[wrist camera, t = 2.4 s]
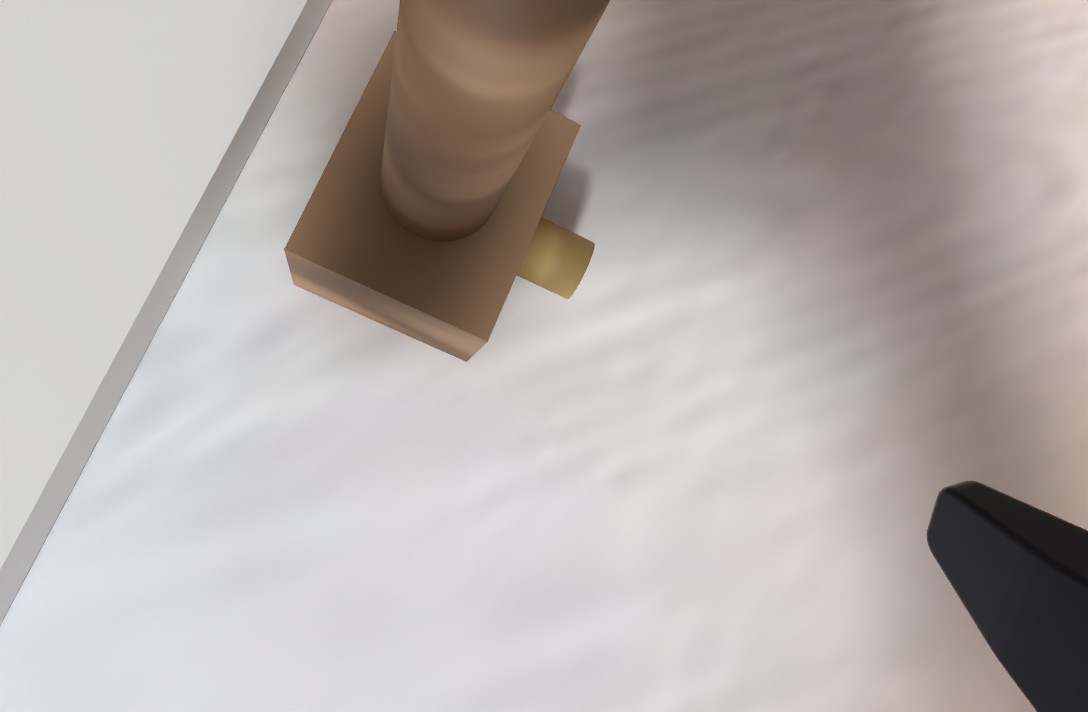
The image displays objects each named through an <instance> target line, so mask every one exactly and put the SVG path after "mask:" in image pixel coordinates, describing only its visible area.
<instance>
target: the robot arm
mask: <svg viewBox="0 0 1088 712" xmlns="http://www.w3.org/2000/svg"><path fill="white" fill-rule="evenodd" d="M927 541H928V545H929V547H930V550H931V552H932V554H933V555H934V557H935V559H936V560H937V562H938V564H939V565H940V567H941V568H942V570H943V572H944V573H945V575H946V577H947V578H948V580H949V581H950V583H951V585H952V586H953V588H954V590H955V591H956V593H957V594H958V596H959V598H960V599H961V601H962V603H963V604H964V606H965V607H966V609H967V611H968V612H969V614H970V616H971V617H972V619H973V620H974V622H975V624H976V625H977V627H978V629H979V630H980V632H981V633H982V635H983V637H984V638H985V640H986V641H987V643H988V645H989V646H990V648H991V649H992V651H993V652H994V654H995V655H996V657H997V658H998V660H999V661H1000V662H1001V664H1002V665H1003V667H1004V668H1005V669H1006V671H1007V672H1008V674H1009V675H1010V676H1011V678H1012V679H1013V680H1014V682H1015V683H1016V684H1017V686H1018V687H1019V688H1020V690H1021V691H1022V692H1023V693H1024V695H1025V696H1026V697H1027V699H1028V700H1029V701H1030V703H1031V704H1032V705H1033V707H1034V708H1035V709H1036V711H1037V712H1088V531H1087V530H1085V529H1083V528H1081V527H1078V526H1076V525H1074V524H1072V523H1069V522H1067V521H1065V520H1062V519H1060V518H1058V517H1056V516H1053V515H1051V514H1049V513H1047V512H1044V511H1042V510H1040V509H1038V508H1035V507H1033V506H1031V505H1029V504H1026V503H1024V502H1022V501H1020V500H1017V499H1015V498H1013V497H1011V496H1008V495H1006V494H1004V493H1002V492H999V491H997V490H995V489H993V488H990V487H988V486H986V485H984V484H981V483H979V482H975V481H965V482H961V483H958V484H955V485H952V486H949V487H945V488H943V489H942V490H941V491H940V492H939V494H938V496H937V499H936V502H935V506H934V509H933V512H932V516H931V519H930V523H929V526H928V529H927Z"/></svg>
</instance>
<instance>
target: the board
mask: <svg viewBox="0 0 1088 712" xmlns="http://www.w3.org/2000/svg"><path fill="white" fill-rule="evenodd" d="M331 2H332V0H0V624H1V622H2V620H3V619H4V617H5V615H6V613H7V611H8V609H9V607H10V605H11V604H12V602H13V600H14V598H15V596H16V594H17V592H18V590H19V588H20V587H21V585H22V583H23V581H24V579H25V577H26V575H27V573H28V572H29V570H30V568H31V566H32V564H33V562H34V560H35V558H36V557H37V555H38V553H39V551H40V549H41V547H42V545H43V543H44V541H45V540H46V538H47V536H48V534H49V532H50V530H51V528H52V526H53V525H54V523H55V521H56V519H57V517H58V515H59V513H60V511H61V509H62V508H63V506H64V504H65V502H66V500H67V498H68V496H69V494H70V493H71V491H72V489H73V487H74V485H75V483H76V481H77V479H78V477H79V476H80V474H81V472H82V470H83V468H84V466H85V464H86V462H87V461H88V459H89V457H90V455H91V453H92V451H93V449H94V447H95V446H96V444H97V442H98V440H99V438H100V436H101V434H102V432H103V430H104V429H105V427H106V425H107V423H108V421H109V419H110V417H111V415H112V414H113V412H114V410H115V408H116V406H117V404H118V402H119V400H120V398H121V397H122V395H123V393H124V391H125V389H126V387H127V385H128V383H129V382H130V380H131V378H132V376H133V374H134V372H135V370H136V368H137V366H138V365H139V363H140V361H141V359H142V357H143V355H144V353H145V351H146V350H147V348H148V346H149V344H150V342H151V340H152V338H153V336H154V335H155V333H156V331H157V329H158V327H159V325H160V323H161V321H162V319H163V318H164V316H165V314H166V312H167V310H168V308H169V306H170V304H171V303H172V301H173V299H174V297H175V295H176V293H177V291H178V289H179V287H180V286H181V284H182V282H183V280H184V278H185V276H186V274H187V272H188V271H189V269H190V267H191V265H192V263H193V261H194V259H195V257H196V255H197V254H198V252H199V250H200V248H201V246H202V244H203V242H204V240H205V239H206V237H207V235H208V233H209V231H210V229H211V227H212V225H213V224H214V222H215V220H216V218H217V216H218V214H219V212H220V210H221V208H222V207H223V205H224V203H225V201H226V199H227V197H228V195H229V193H230V192H231V190H232V188H233V186H234V184H235V182H236V180H237V178H238V176H239V175H240V173H241V171H242V169H243V167H244V165H245V163H246V161H247V160H248V158H249V156H250V154H251V152H252V150H253V148H254V146H255V144H256V143H257V141H258V139H259V137H260V135H261V133H262V131H263V129H264V128H265V126H266V124H267V122H268V120H269V118H270V116H271V114H272V113H273V111H274V109H275V107H276V105H277V103H278V101H279V99H280V97H281V96H282V94H283V92H284V90H285V88H286V86H287V84H288V82H289V81H290V79H291V77H292V75H293V73H294V71H295V69H296V67H297V65H298V64H299V62H300V60H301V58H302V56H303V54H304V52H305V50H306V49H307V47H308V45H309V43H310V41H311V39H312V37H313V35H314V33H315V32H316V30H317V28H318V26H319V24H320V22H321V20H322V18H323V17H324V15H325V13H326V11H327V9H328V7H329V5H330V3H331Z"/></svg>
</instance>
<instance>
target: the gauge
mask: <svg viewBox="0 0 1088 712" xmlns="http://www.w3.org/2000/svg"><path fill="white" fill-rule="evenodd" d="M609 1H610V0H400V7H399V16H398V25H397V32H396V31H394V33H393V35H392V37H391V39H390V41H389V43H388V45H387V47H386V49H385V51H384V53H383V55H382V57H381V59H380V61H379V63H378V65H377V67H376V69H375V71H374V73H373V75H372V77H371V79H370V81H369V83H368V85H367V87H366V89H365V91H364V93H363V95H362V97H361V99H360V101H359V103H358V105H357V107H356V109H355V111H354V113H353V114H352V116H351V118H350V120H349V122H348V124H347V126H346V128H345V130H344V132H343V134H342V136H341V138H340V140H339V142H338V144H337V146H336V148H335V150H334V152H333V154H332V156H331V158H330V160H329V162H328V164H327V166H326V168H325V170H324V172H323V174H322V176H321V178H320V180H319V182H318V184H317V186H316V188H315V190H314V192H313V194H312V196H311V198H310V200H309V202H308V203H307V205H306V207H305V209H304V211H303V213H302V215H301V217H300V219H299V221H298V223H297V225H296V227H295V229H294V231H293V233H292V235H291V237H290V239H289V241H288V243H287V245H286V247H285V249H284V250H285V254H286V257H287V261H288V265H289V268H290V272H291V276H292V279H293V283H294V285H296V286H298V287H301V288H303V289H305V290H307V291H310V292H312V293H314V294H316V295H319V296H321V297H323V298H325V299H328V300H330V301H332V302H334V303H337V304H339V305H341V306H343V307H345V308H348V309H350V310H352V311H354V312H357V313H359V314H361V315H363V316H366V317H368V318H370V319H372V320H375V321H377V322H379V323H381V324H384V325H386V326H388V327H390V328H393V329H395V330H397V331H399V332H401V333H404V334H406V335H408V336H410V337H413V338H415V339H417V340H419V341H422V342H424V343H426V344H428V345H431V346H433V347H435V348H437V349H440V350H442V351H444V352H446V353H449V354H451V355H453V356H455V357H457V358H460V359H462V360H464V361H466V362H467V361H468V360H469V359H470V358H471V357H472V356H473V355H474V354H475V353H476V352H477V351H478V350H479V349H480V348H481V347H482V346H483V345H484V344H485V343H486V342H487V341H488V339H489V337H490V335H491V332H492V330H493V328H494V325H495V323H496V321H497V318H498V316H499V314H500V311H501V309H502V307H503V304H504V302H505V300H506V297H507V295H508V293H509V291H510V288H511V286H512V284H513V281H514V279H515V277H516V275H517V276H520V277H522V278H524V279H526V280H528V281H530V282H532V283H534V284H537V285H539V286H541V287H543V288H545V289H547V290H549V291H551V292H554V293H556V294H558V295H560V296H562V297H564V298H566V299H569V298H570V297H571V296H572V294H573V293H574V291H575V290H576V288H577V286H578V285H579V283H580V281H581V279H582V277H583V275H584V273H585V271H586V269H587V267H588V264H589V262H590V259H591V257H592V254H593V250H594V243H593V242H591V241H589V240H587V239H585V238H583V237H581V236H579V235H577V234H575V233H573V232H571V231H568V230H566V229H564V228H562V227H560V226H558V225H556V224H554V223H552V222H550V221H548V220H546V219H544V218H542V217H541V216H542V214H543V212H544V209H545V207H546V205H547V202H548V200H549V198H550V195H551V193H552V191H553V188H554V186H555V184H556V182H557V179H558V177H559V175H560V172H561V170H562V168H563V165H564V163H565V161H566V158H567V156H568V154H569V151H570V149H571V147H572V144H573V142H574V140H575V137H576V135H577V133H578V131H579V128H580V126H581V125H579V124H577V123H575V122H573V121H571V120H569V119H567V118H566V117H564V116H562V115H560V114H558V113H556V112H554V111H552V110H550V108H551V106H552V105H553V103H554V101H555V99H556V97H557V96H558V94H559V92H560V90H561V88H562V87H563V85H564V83H565V81H566V79H567V78H568V76H569V74H570V72H571V70H572V68H573V67H574V65H575V63H576V61H577V59H578V58H579V56H580V54H581V52H582V50H583V49H584V47H585V45H586V43H587V41H588V39H589V38H590V36H591V34H592V32H593V30H594V29H595V27H596V25H597V23H598V21H599V20H600V18H601V16H602V14H603V12H604V11H605V9H606V7H607V5H608V3H609Z"/></svg>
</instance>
